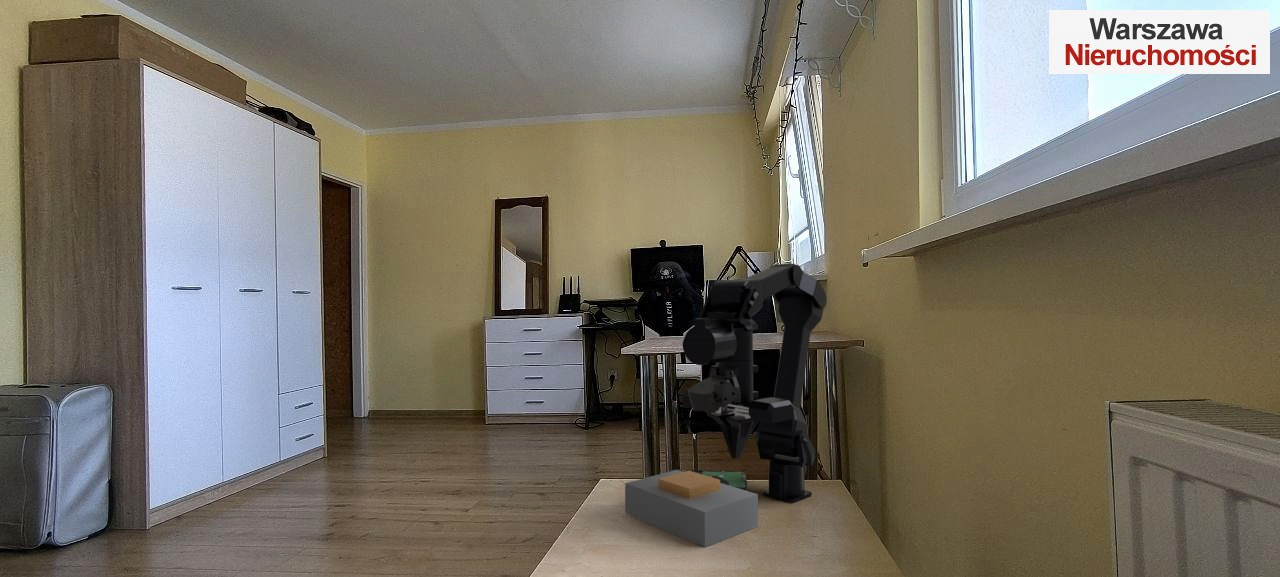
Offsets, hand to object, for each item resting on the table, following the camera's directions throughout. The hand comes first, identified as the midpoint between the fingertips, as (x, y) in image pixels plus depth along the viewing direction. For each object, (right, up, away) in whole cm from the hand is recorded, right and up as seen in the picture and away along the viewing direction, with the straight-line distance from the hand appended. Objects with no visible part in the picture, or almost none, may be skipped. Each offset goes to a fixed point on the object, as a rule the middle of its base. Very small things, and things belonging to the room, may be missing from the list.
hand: (735, 458), depth 95 cm
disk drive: (-3, -11, +17) cm, 21 cm away
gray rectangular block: (-7, -10, +2) cm, 13 cm away
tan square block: (-7, -10, +2) cm, 12 cm away
